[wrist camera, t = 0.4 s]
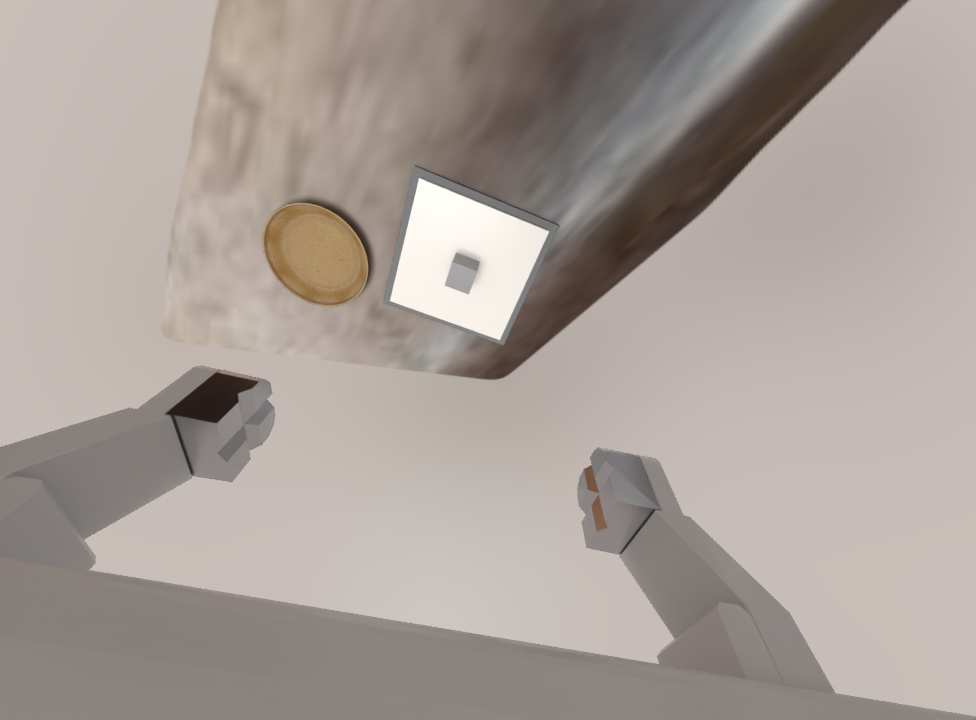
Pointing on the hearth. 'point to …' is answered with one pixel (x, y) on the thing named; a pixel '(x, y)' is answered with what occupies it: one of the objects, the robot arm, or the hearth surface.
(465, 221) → the cover sheet
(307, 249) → the plant saucer
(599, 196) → the hearth surface
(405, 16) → the hearth surface
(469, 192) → the charcoal mat
